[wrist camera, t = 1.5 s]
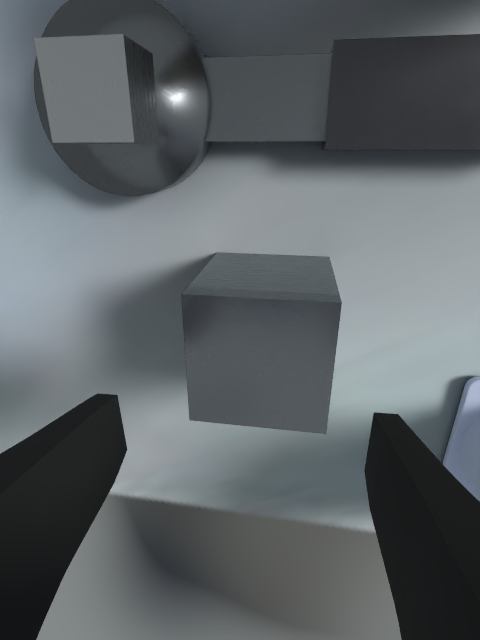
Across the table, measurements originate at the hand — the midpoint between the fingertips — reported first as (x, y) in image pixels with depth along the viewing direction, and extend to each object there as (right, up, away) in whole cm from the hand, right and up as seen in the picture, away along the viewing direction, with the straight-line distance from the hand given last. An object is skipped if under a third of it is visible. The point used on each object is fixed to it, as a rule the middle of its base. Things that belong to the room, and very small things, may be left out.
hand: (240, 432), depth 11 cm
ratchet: (+2, +12, +5) cm, 13 cm away
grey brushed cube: (+1, +4, +9) cm, 10 cm away
